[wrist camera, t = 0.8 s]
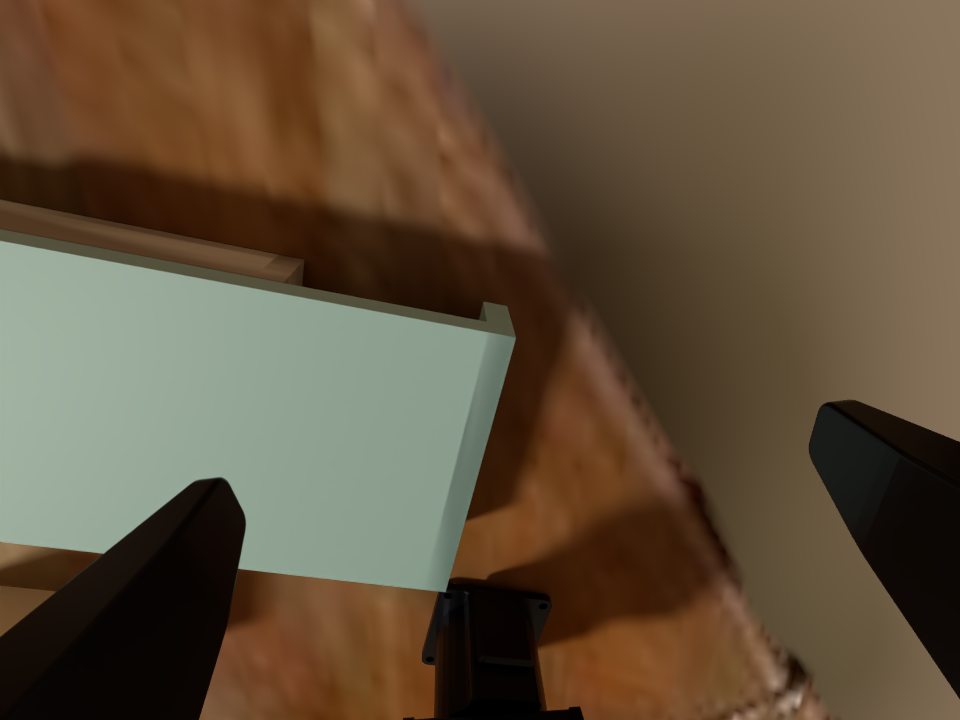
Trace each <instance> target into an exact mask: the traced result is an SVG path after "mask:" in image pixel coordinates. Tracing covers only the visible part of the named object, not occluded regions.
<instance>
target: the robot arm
mask: <svg viewBox="0 0 960 720" xmlns="http://www.w3.org/2000/svg"><path fill="white" fill-rule="evenodd" d="M809 454H810V457H811V460H812V462H813V464H814V466H815V468H816V470H817V472H818V474H819V475H820V477H821V479H822V481H823V483H824V485H825V486H826V489H827V490H828V492H829V494H830V496H831V498H832V500H833V501H834V503H835V505H836V507H837V509H838V511H839V513H840V515H841V517H842V518H843V520H844V522H845V524H846V526H847V527H848V530H849V532H850V533H851V535H852V537H853V539H854V540H855V542H856V544H857V545H858V547H859V549H860V551H861V552H862V554H863V556H864V557H865V559H866V560H867V562H868V563H869V565H870V566H871V568H872V569H873V571H874V572H875V574H876V575H877V577H878V578H879V580H880V581H881V583H882V584H883V586H884V587H885V589H886V590H887V592H888V593H889V595H890V596H891V598H892V599H893V601H894V602H895V604H896V605H897V607H898V608H899V610H900V611H901V613H902V614H903V616H904V617H905V619H906V620H907V622H908V623H909V625H910V626H911V627H912V629H913V630H914V632H915V633H916V635H917V636H918V638H919V639H920V641H921V642H922V644H923V645H924V647H925V648H926V650H927V651H928V653H929V654H930V655H931V657H932V659H933V660H934V662H935V663H936V665H937V666H938V668H939V669H940V671H941V672H942V673H943V675H944V676H945V678H946V679H947V681H948V682H949V684H950V685H951V687H952V688H953V690H954V691H955V693H956V694H957V696H958V697H959V699H960V442H959V441H956V440H953V439H951V438H949V437H946V436H944V435H941V434H939V433H936V432H934V431H931V430H929V429H926V428H923V427H921V426H919V425H916V424H914V423H911V422H909V421H906V420H904V419H901V418H899V417H896V416H894V415H891V414H889V413H886V412H884V411H881V410H879V409H876V408H874V407H871V406H869V405H866V404H864V403H861V402H859V401H856V400H843V401H834V402H827V403H825V404H823V405H822V406H821V407H820V409H819V411H818V414H817V418H816V421H815V425H814V428H813V431H812V435H811V438H810V442H809ZM245 531H246V518H245V514H244V511H243V509H242V507H241V505H240V503H239V501H238V499H237V497H236V495H235V493H234V492H233V490H232V488H231V486H230V484H229V482H228V481H227V480H226V479H225V478H222V477H214V478H206V479H199V480H196V481H194V482H192V483H191V484H190V485H188V486H187V487H186V488H185V489H183V490H182V491H181V492H180V493H178V494H177V495H176V496H175V497H173V498H172V499H171V500H170V501H168V502H167V503H166V504H165V505H163V506H162V507H161V508H160V509H158V510H157V511H156V512H155V513H153V514H152V515H151V516H150V517H148V518H147V519H146V520H145V521H143V522H142V523H141V524H140V525H139V526H137V527H136V528H135V529H134V530H132V531H131V532H130V533H129V534H127V535H126V536H125V537H124V538H122V539H121V540H120V541H119V542H117V543H116V544H115V545H114V546H112V547H111V548H110V549H109V550H107V551H106V552H105V553H104V554H102V555H101V556H100V557H99V558H97V559H96V560H95V561H94V562H92V563H91V564H90V565H89V566H87V567H86V568H85V569H84V570H82V571H81V572H80V573H79V574H77V575H76V576H75V577H74V578H72V579H71V580H70V581H69V582H67V583H66V584H65V585H64V586H62V587H61V588H60V589H59V590H57V591H56V592H55V593H54V594H52V595H51V596H50V597H49V598H48V599H46V600H45V601H44V602H43V603H41V604H40V605H39V606H38V607H36V608H35V609H34V610H33V611H31V612H30V613H29V614H28V615H26V616H25V617H24V618H23V619H21V620H20V621H19V622H18V623H16V624H15V625H14V626H13V627H11V628H10V629H9V630H8V631H6V632H5V633H4V634H3V635H1V636H0V720H199V718H200V714H201V711H202V708H203V704H204V701H205V698H206V694H207V691H208V688H209V685H210V681H211V678H212V675H213V671H214V668H215V665H216V661H217V658H218V655H219V652H220V648H221V645H222V641H223V638H224V634H225V631H226V627H227V623H228V618H229V614H230V609H231V604H232V599H233V594H234V588H235V583H236V578H237V573H238V567H239V562H240V557H241V552H242V547H243V541H244V536H245ZM551 607H552V604H551V599H550V597H549V596H548V595H544V594H536V593H527V592H519V591H510V590H501V589H493V588H484V587H475V586H467V585H458V584H448V585H447V589H446V592H440V591H438V595H437V599H436V602H435V606H434V610H433V614H432V617H431V621H430V625H429V629H428V632H427V636H426V640H425V643H424V647H423V651H422V662H423V663H425V664H428V665H435V701H434V718H429V719H414V717H411V718H403V720H584V718H583V715H582V711H581V708H580V707H569V709H567V710H552V711H547V707H546V701H545V695H544V688H543V682H542V676H541V670H540V664H539V657H538V651H537V645H536V644H537V642H538V639H539V637H540V634H541V632H542V629H543V627H544V624H545V622H546V620H547V617H548V615H549V612H550V610H551Z"/></svg>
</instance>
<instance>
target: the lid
mask: <svg viewBox="0 0 960 720" xmlns="http://www.w3.org/2000/svg"><path fill="white" fill-rule="evenodd" d="M515 340H516V336H515V332H514V328H513V325H512V321H511V318H510V314H509V311H508V307H507V306H504V305H499V304H494V303H489V302H484V301H483V305H482V309H481V313H480V317H479V320H475V319H469V318H464V317H459V316H454V315H448V314H443V313H438V312H433V311H427V310H422V309H417V308H412V307H406V306H401V305H396V304H391V303H385V302H380V301H375V300H370V299H364V298H359V297H354V296H349V295H343V294H338V293H333V292H328V291H322V290H317V289H312V288H307V287H302V286H296V285H291V284H286V283H281V282H275V281H270V280H265V279H260V278H254V277H249V276H244V275H239V274H233V273H228V272H223V271H218V270H212V269H207V268H202V267H197V266H191V265H186V264H181V263H176V262H170V261H165V260H160V259H155V258H149V257H144V256H139V255H134V254H128V253H123V252H118V251H113V250H107V249H102V248H97V247H92V246H86V245H81V244H76V243H71V242H65V241H60V240H55V239H50V238H44V237H39V236H34V235H29V234H23V233H18V232H13V231H8V230H2V229H0V542H6V543H15V544H24V545H33V546H42V547H50V548H59V549H68V550H77V551H86V552H95V553H103V554H104V553H105V552H106V551H107V550H109V549H110V548H111V547H112V546H114V545H115V544H116V543H117V542H119V541H120V540H121V539H122V538H124V537H125V536H126V535H127V534H129V533H130V532H131V531H132V530H134V529H135V528H136V527H137V526H139V525H140V524H141V523H142V522H143V521H145V520H146V519H147V518H148V517H150V516H151V515H152V514H153V513H155V512H156V511H157V510H158V509H160V508H161V507H162V506H163V505H165V504H166V503H167V502H168V501H170V500H171V499H172V498H173V497H175V496H176V495H177V494H178V493H180V492H181V491H182V490H183V489H185V488H186V487H187V486H188V485H190V484H191V483H192V482H194V481H196V480H199V479H206V478H214V477H222V478H225V479H226V480H227V481H228V482H229V484H230V486H231V488H232V490H233V492H234V493H235V495H236V497H237V499H238V501H239V503H240V505H241V507H242V509H243V511H244V514H245V518H246V531H245V536H244V541H243V547H242V552H241V557H240V562H239V567H238V569H245V570H254V571H263V572H272V573H280V574H289V575H298V576H307V577H316V578H325V579H333V580H342V581H351V582H360V583H369V584H378V585H386V586H395V587H404V588H413V589H422V590H431V591H440V592H446V589H447V585H448V581H449V578H450V574H451V571H452V567H453V563H454V560H455V556H456V552H457V549H458V545H459V542H460V538H461V534H462V531H463V527H464V524H465V520H466V516H467V513H468V509H469V506H470V502H471V498H472V495H473V491H474V488H475V484H476V480H477V477H478V473H479V470H480V466H481V462H482V459H483V455H484V452H485V448H486V444H487V441H488V437H489V434H490V430H491V426H492V423H493V419H494V416H495V412H496V408H497V405H498V401H499V398H500V394H501V390H502V387H503V383H504V380H505V376H506V372H507V369H508V365H509V362H510V358H511V354H512V351H513V347H514V343H515Z"/></svg>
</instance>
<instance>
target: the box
mask: <svg viewBox="0 0 960 720" xmlns="http://www.w3.org/2000/svg"><path fill="white" fill-rule="evenodd" d="M0 229H2V230H8V231H13V232H18V233H23V234H29V235H34V236H39V237H44V238H50V239H55V240H60V241H65V242H71V243H76V244H81V245H86V246H92V247H97V248H102V249H107V250H113V251H118V252H123V253H128V254H134V255H139V256H144V257H149V258H155V259H160V260H165V261H170V262H176V263H181V264H186V265H191V266H197V267H202V268H207V269H212V270H218V271H223V272H228V273H233V274H239V275H244V276H249V277H254V278H260V279H265V280H270V281H275V282H281V283H286V284H291V285H296V286H302V283H303V271H304V260H303V259H298V258H293V257H288V256H283V255H278V254H273V253H268V252H263V251H258V250H253V249H248V248H243V247H238V246H233V245H228V244H223V243H218V242H213V241H207V240H202V239H197V238H192V237H187V236H182V235H177V234H172V233H167V232H162V231H157V230H152V229H147V228H142V227H137V226H132V225H127V224H122V223H117V222H111V221H106V220H101V219H96V218H91V217H86V216H81V215H76V214H71V213H66V212H61V211H56V210H51V209H46V208H41V207H36V206H31V205H26V204H21V203H15V202H10V201H5V200H0Z"/></svg>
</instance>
